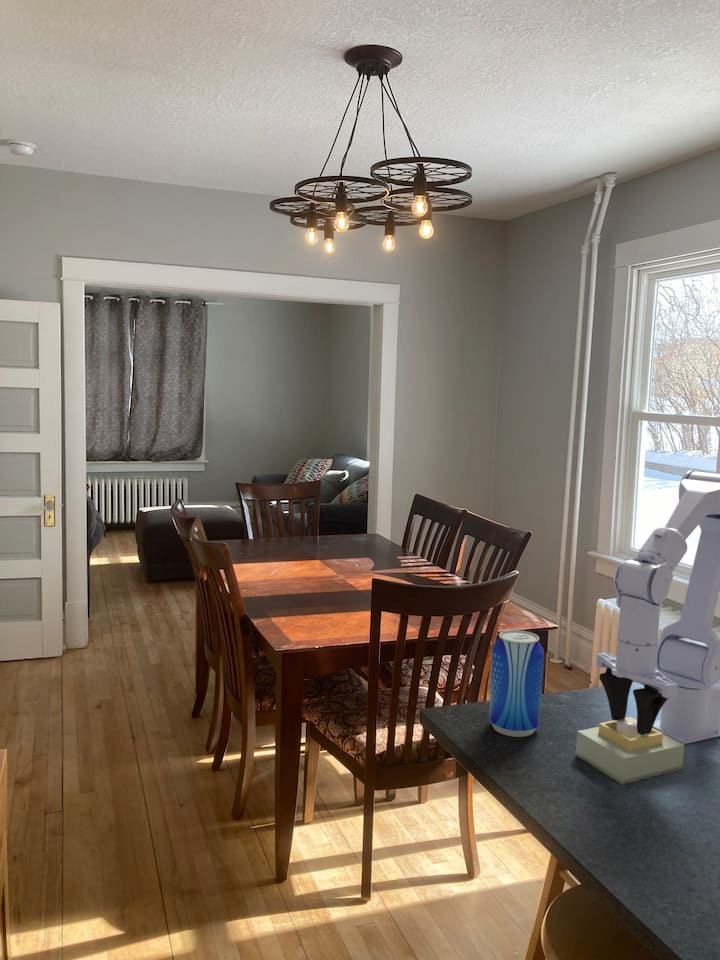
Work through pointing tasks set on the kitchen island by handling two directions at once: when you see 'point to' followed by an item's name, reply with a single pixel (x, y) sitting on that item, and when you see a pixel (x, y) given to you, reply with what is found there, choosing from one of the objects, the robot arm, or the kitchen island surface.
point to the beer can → (516, 683)
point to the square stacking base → (629, 753)
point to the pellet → (628, 728)
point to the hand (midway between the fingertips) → (630, 725)
